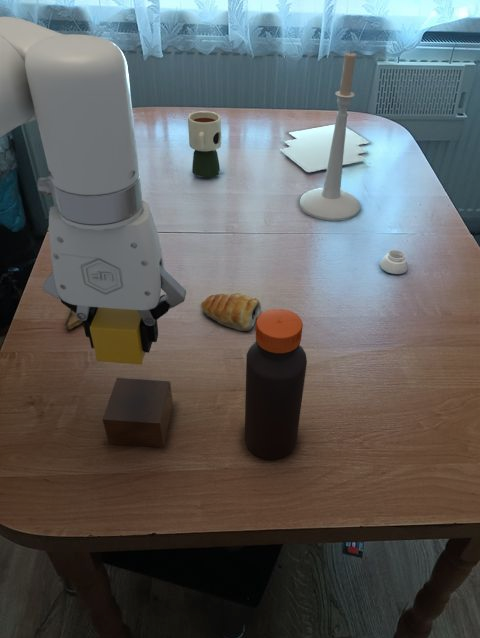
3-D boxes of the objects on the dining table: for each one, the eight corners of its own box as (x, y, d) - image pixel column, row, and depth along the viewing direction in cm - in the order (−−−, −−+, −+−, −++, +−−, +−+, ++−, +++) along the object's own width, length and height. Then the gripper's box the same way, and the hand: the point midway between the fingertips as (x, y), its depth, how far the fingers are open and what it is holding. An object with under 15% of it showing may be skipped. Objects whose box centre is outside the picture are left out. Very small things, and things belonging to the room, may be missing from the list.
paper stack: (260, 137, 140) (260, 135, 140) (340, 123, 149) (340, 121, 149) (307, 175, 125) (307, 172, 125) (392, 157, 135) (393, 154, 134)
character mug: (218, 186, 120) (217, 127, 111) (186, 184, 120) (182, 125, 111) (224, 165, 128) (224, 108, 119) (195, 163, 128) (192, 106, 119)
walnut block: (108, 444, 69) (102, 419, 65) (122, 402, 74) (116, 377, 70) (163, 448, 68) (159, 423, 65) (173, 406, 74) (170, 380, 70)
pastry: (195, 321, 86) (194, 302, 84) (211, 297, 91) (210, 278, 89) (250, 335, 85) (251, 316, 82) (263, 309, 89) (264, 291, 87)
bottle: (280, 412, 74) (290, 295, 60) (306, 448, 69) (324, 332, 56) (235, 429, 71) (235, 312, 57) (259, 468, 67) (266, 352, 53)
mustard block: (96, 361, 60) (89, 327, 56) (108, 331, 63) (102, 298, 60) (141, 364, 60) (136, 331, 56) (150, 334, 63) (146, 301, 60)
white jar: (398, 258, 102) (374, 262, 101) (401, 245, 100) (377, 249, 99) (411, 273, 99) (387, 277, 97) (415, 259, 97) (391, 264, 95)
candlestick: (333, 186, 122) (354, 38, 102) (371, 211, 115) (402, 56, 94) (287, 200, 117) (300, 46, 96) (325, 227, 109) (347, 66, 89)
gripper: (-14, 208, 46) (36, 359, 58) (186, 223, 46) (193, 371, 58) (20, 168, 51) (59, 315, 64) (199, 182, 51) (203, 326, 64)
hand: (123, 340), depth 61 cm, fingers closed on mustard block, 5 cm apart
